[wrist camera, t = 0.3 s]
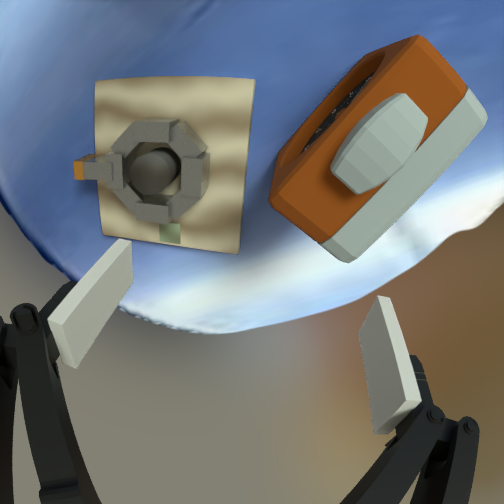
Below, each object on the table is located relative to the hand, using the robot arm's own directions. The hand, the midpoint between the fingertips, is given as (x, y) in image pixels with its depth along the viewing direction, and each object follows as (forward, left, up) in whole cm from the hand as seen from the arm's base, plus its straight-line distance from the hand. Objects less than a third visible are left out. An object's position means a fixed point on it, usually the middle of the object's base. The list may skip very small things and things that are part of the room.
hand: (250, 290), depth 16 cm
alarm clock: (-6, +8, -28) cm, 29 cm away
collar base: (+2, -15, -27) cm, 31 cm away
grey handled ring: (+2, -17, -25) cm, 31 cm away
